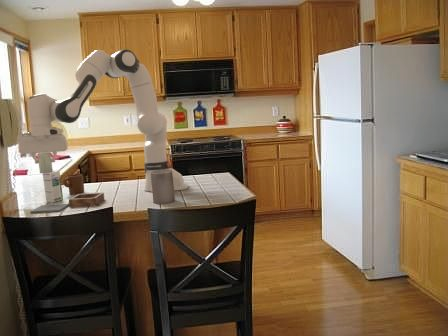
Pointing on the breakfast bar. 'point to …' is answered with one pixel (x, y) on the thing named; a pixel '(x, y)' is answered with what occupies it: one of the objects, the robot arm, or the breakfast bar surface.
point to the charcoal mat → (50, 208)
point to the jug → (45, 162)
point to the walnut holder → (86, 199)
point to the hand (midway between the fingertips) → (45, 162)
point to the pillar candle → (162, 186)
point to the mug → (74, 183)
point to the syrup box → (53, 186)
